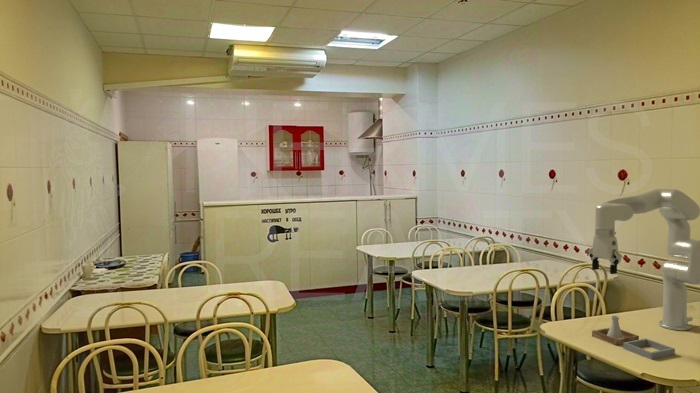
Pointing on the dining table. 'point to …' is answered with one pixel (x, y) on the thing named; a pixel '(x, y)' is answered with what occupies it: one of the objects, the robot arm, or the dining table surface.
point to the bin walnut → (603, 336)
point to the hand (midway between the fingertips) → (604, 271)
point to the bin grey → (663, 349)
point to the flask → (615, 328)
